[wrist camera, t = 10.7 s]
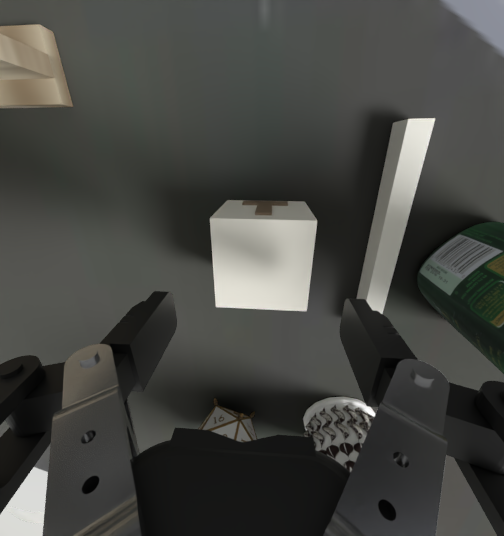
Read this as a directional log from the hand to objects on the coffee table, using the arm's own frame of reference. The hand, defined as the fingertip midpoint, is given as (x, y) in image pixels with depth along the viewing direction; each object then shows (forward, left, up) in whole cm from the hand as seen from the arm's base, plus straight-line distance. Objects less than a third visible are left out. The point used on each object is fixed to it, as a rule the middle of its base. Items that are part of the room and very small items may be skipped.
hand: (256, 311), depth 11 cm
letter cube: (0, 0, -10) cm, 10 cm away
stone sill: (+5, -7, -10) cm, 13 cm away
